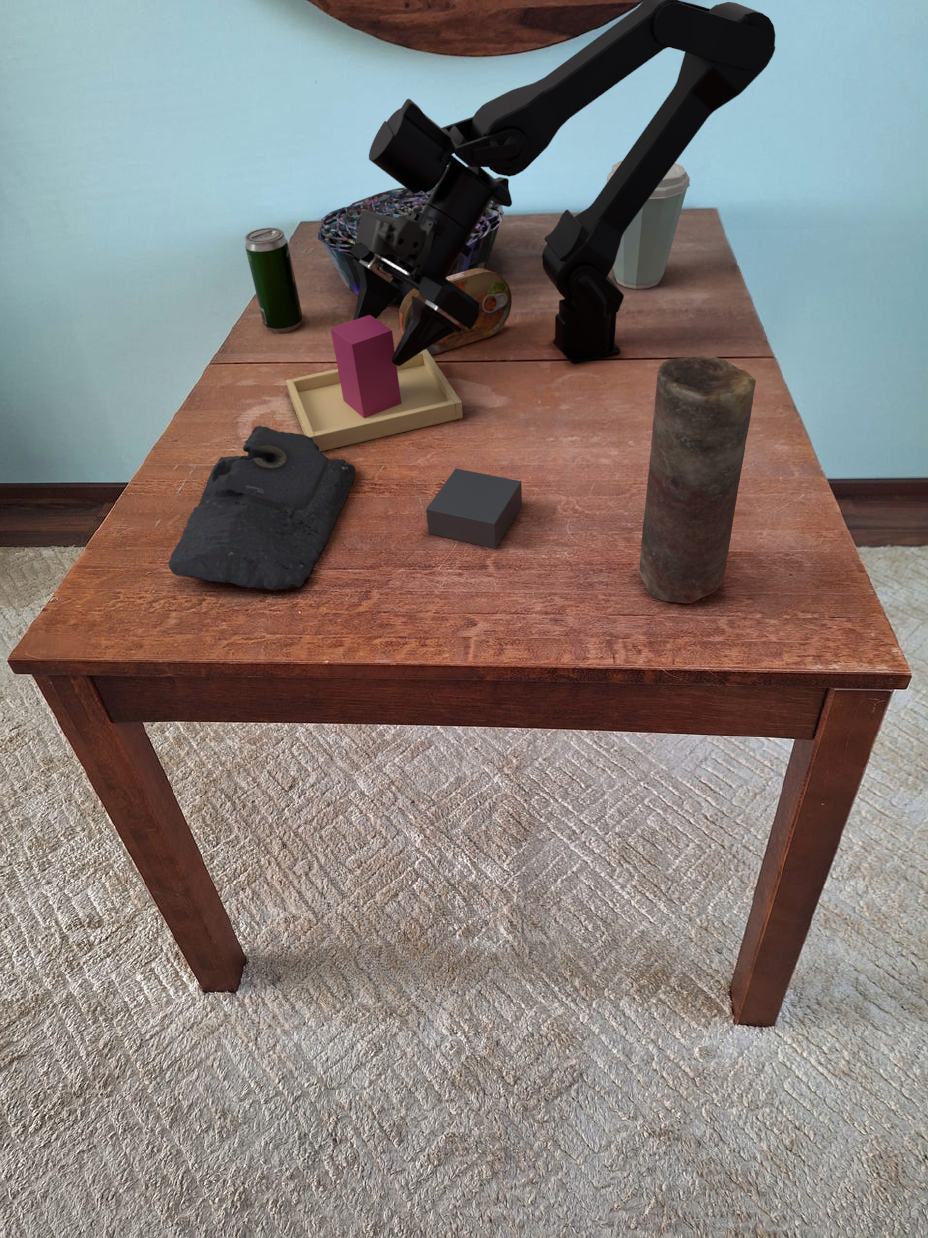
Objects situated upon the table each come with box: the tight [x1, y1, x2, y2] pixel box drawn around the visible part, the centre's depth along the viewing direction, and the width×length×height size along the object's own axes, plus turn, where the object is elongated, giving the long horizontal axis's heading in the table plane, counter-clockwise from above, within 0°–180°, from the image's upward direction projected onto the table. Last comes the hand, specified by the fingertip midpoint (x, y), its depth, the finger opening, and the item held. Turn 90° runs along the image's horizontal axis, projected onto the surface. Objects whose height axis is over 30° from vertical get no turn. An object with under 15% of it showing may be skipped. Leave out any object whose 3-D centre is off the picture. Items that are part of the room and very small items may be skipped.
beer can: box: [244, 227, 304, 334], centre depth 114 cm, size 5×5×12 cm
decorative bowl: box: [317, 185, 505, 308], centre depth 124 cm, size 26×28×10 cm
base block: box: [425, 468, 523, 549], centre depth 84 cm, size 7×7×3 cm
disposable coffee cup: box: [605, 160, 691, 290], centre depth 116 cm, size 11×11×15 cm
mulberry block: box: [330, 315, 401, 418], centre depth 98 cm, size 5×5×9 cm
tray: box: [285, 349, 464, 453], centre depth 100 cm, size 18×14×2 cm
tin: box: [398, 268, 513, 356], centre depth 108 cm, size 15×3×8 cm, turn 117°
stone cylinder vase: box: [639, 355, 757, 604], centre depth 70 cm, size 8×7×20 cm
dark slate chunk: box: [168, 425, 357, 591], centre depth 85 cm, size 15×22×5 cm
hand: (374, 348), depth 97 cm, fingers open, 9 cm apart
